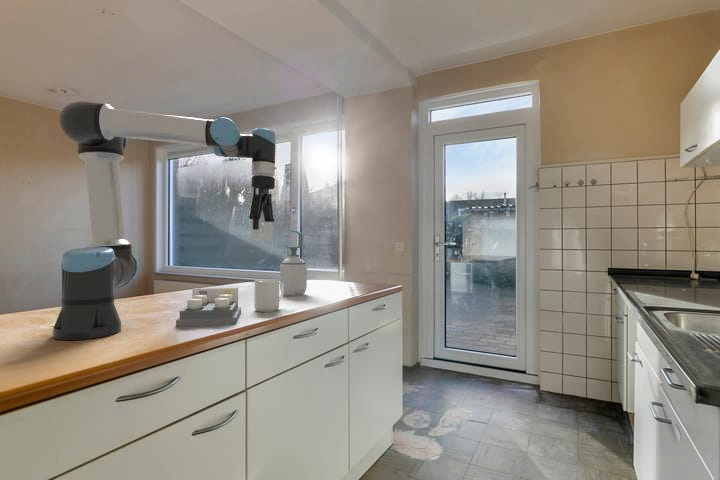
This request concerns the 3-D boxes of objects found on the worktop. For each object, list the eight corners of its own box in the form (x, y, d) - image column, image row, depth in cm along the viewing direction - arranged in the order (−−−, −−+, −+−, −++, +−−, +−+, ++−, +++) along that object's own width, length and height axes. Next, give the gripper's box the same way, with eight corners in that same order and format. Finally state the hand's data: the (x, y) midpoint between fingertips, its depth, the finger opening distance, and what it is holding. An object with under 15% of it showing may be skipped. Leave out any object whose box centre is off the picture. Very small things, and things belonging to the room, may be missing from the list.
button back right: (217, 305, 123) (217, 296, 123) (219, 303, 127) (219, 294, 127) (231, 305, 124) (231, 296, 124) (232, 303, 128) (232, 294, 128)
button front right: (213, 309, 115) (213, 300, 115) (215, 307, 119) (215, 298, 119) (228, 309, 116) (228, 299, 116) (229, 307, 120) (229, 297, 120)
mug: (264, 313, 132) (264, 282, 132) (249, 310, 137) (249, 280, 137) (290, 308, 141) (290, 279, 141) (275, 306, 147) (275, 277, 147)
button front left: (185, 310, 113) (185, 300, 113) (188, 308, 117) (189, 298, 117) (200, 310, 114) (200, 300, 114) (203, 307, 118) (203, 298, 118)
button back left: (191, 306, 121) (191, 297, 121) (194, 304, 125) (194, 295, 125) (205, 305, 122) (205, 296, 122) (207, 303, 126) (207, 294, 126)
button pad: (175, 326, 111) (176, 296, 111) (189, 314, 129) (189, 288, 129) (235, 324, 115) (235, 294, 115) (241, 312, 133) (241, 287, 133)
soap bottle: (285, 292, 183) (285, 229, 183) (309, 293, 182) (310, 229, 182) (276, 296, 171) (276, 228, 171) (302, 297, 169) (302, 228, 169)
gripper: (264, 169, 112) (263, 240, 112) (282, 182, 137) (281, 240, 137) (239, 169, 112) (238, 239, 112) (262, 182, 137) (261, 240, 137)
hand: (262, 240), depth 124 cm, fingers open, 13 cm apart
